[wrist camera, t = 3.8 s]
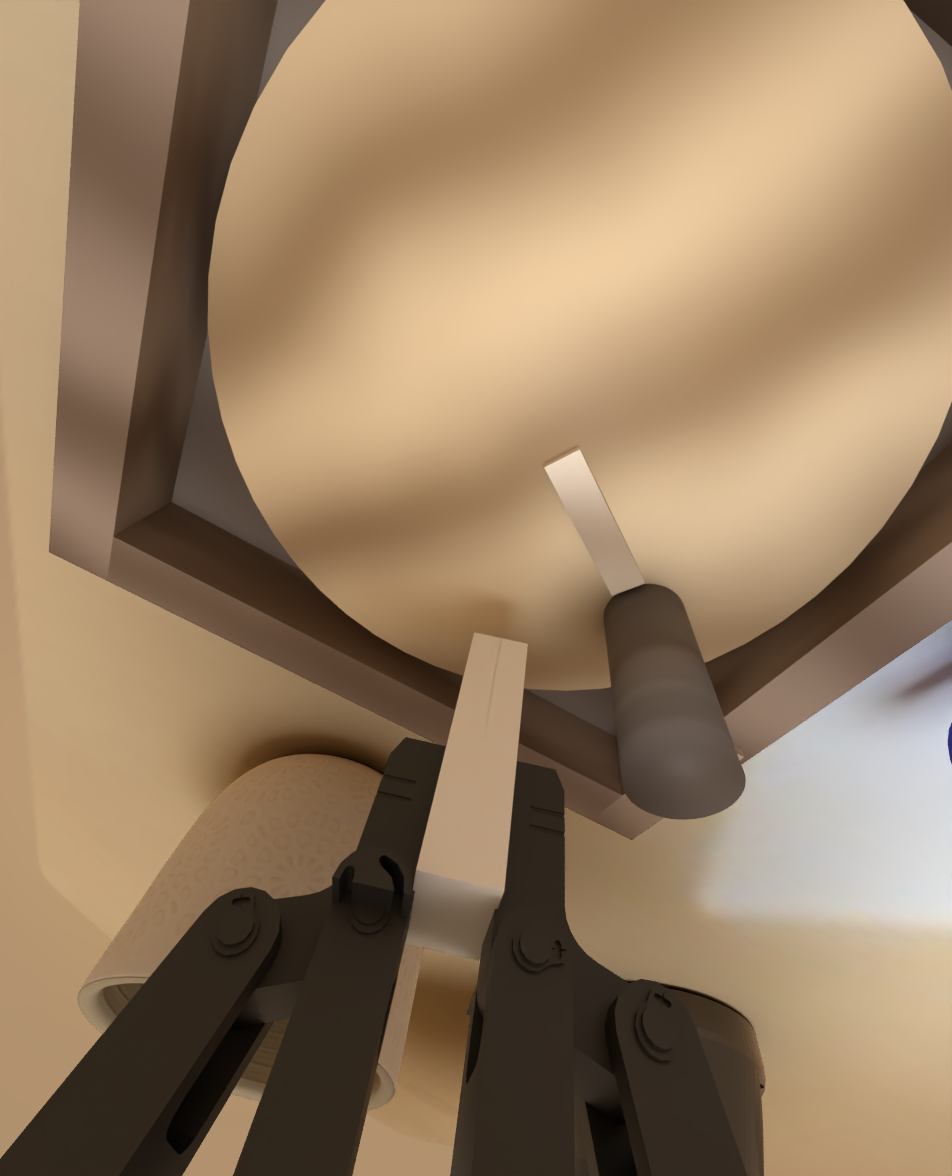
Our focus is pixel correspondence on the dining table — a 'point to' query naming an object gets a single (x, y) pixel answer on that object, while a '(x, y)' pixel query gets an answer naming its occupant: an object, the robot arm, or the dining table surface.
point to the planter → (267, 862)
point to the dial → (589, 330)
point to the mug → (950, 742)
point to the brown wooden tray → (212, 477)
